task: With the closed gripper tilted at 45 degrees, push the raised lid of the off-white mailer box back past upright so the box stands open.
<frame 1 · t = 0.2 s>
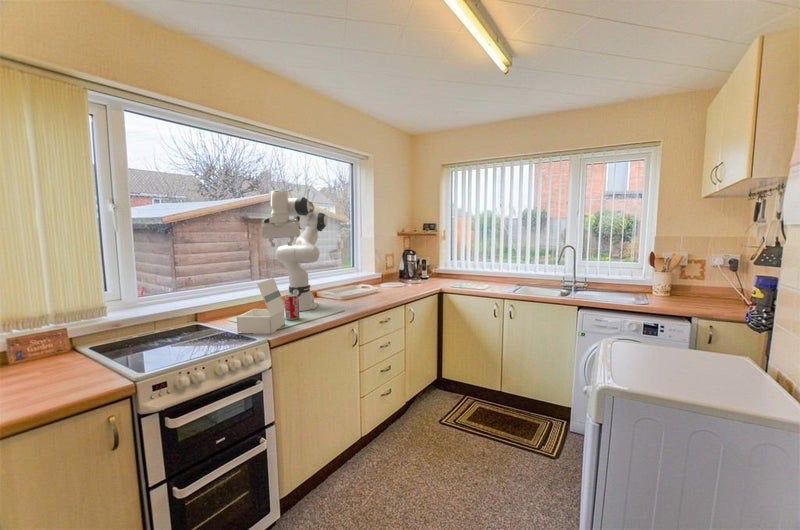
hand: (281, 246, 182), 39 cm above the countertop, tool pointing down, fingers open, 8 cm apart
mailer box: (262, 328, 168), on the countertop
soda can: (292, 319, 187), on the countertop
mailer lid: (272, 296, 166), point 16 cm above the countertop, hinge at 70.0°
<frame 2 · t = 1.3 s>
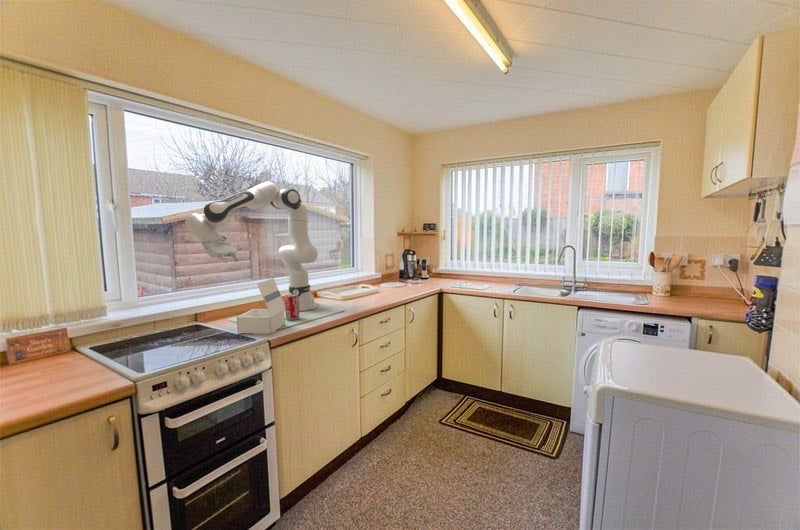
hand: (233, 261, 170), 33 cm above the countertop, tool tilted 45°, fingers open, 8 cm apart
nothing on the countertop moved.
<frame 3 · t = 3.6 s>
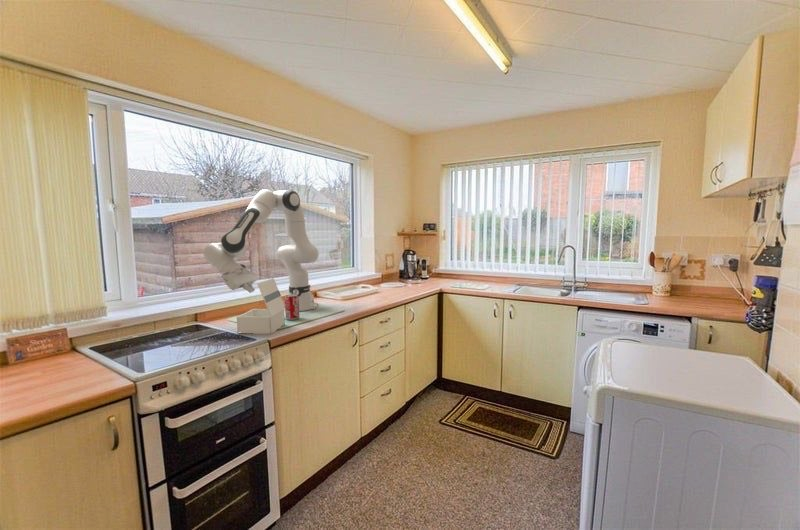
hand: (252, 291, 167), 19 cm above the countertop, tool tilted 45°, fingers closed
nothing on the countertop moved.
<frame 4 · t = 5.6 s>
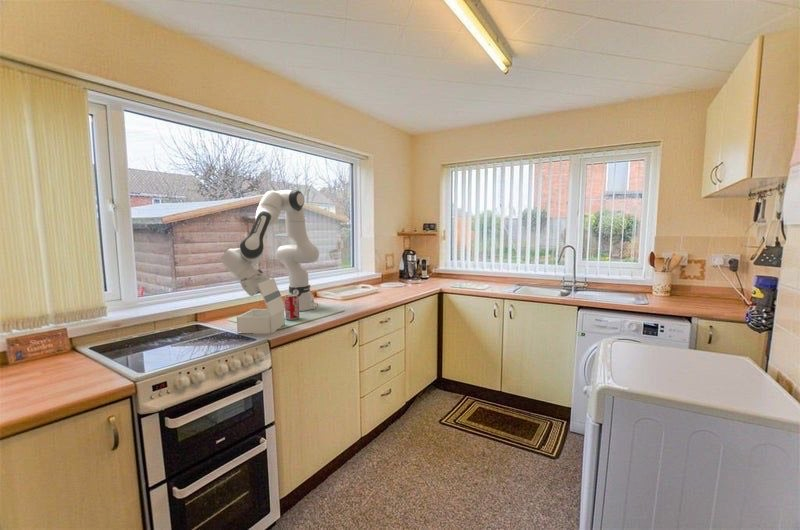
hand: (270, 297, 166), 16 cm above the countertop, tool tilted 45°, fingers closed, pressing on mailer lid
mailer lid: (272, 296, 166), point 16 cm above the countertop, hinge at 70.3°, touching gripper
everything else where it was.
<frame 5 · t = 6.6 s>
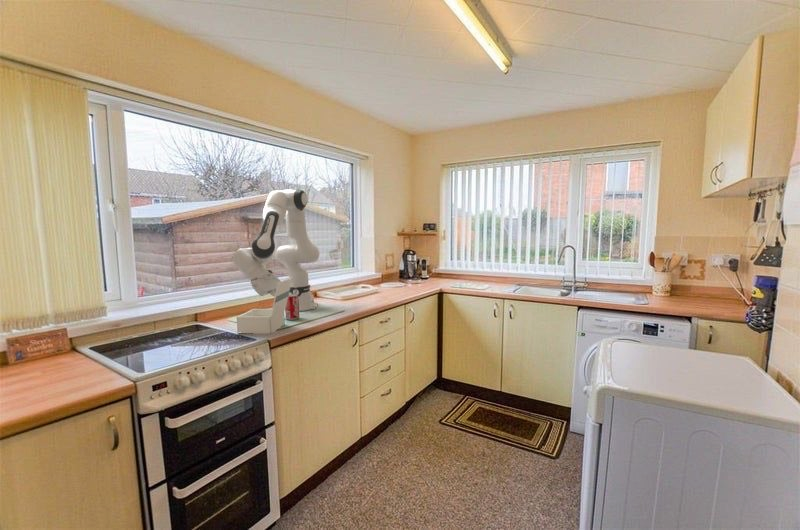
hand: (279, 297, 166), 16 cm above the countertop, tool tilted 45°, fingers closed, pressing on mailer lid
mailer lid: (281, 296, 166), point 16 cm above the countertop, hinge at 104.3°, touching gripper
everything else where it was.
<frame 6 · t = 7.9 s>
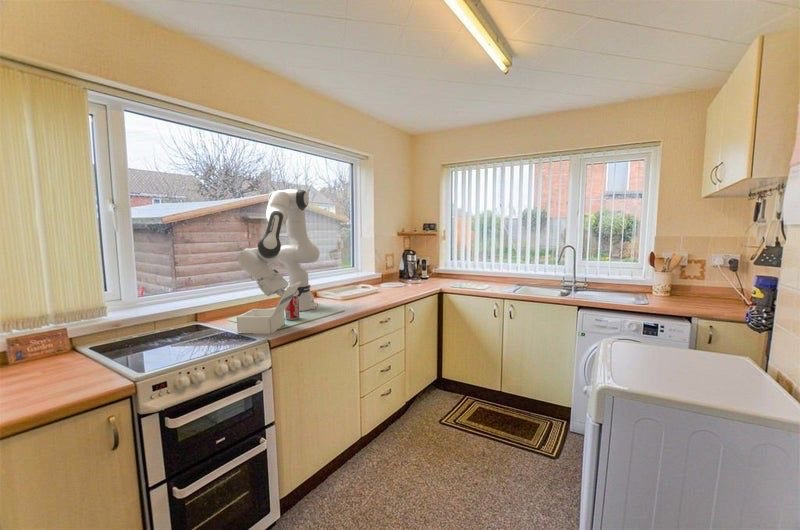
hand: (286, 297, 166), 16 cm above the countertop, tool tilted 45°, fingers closed, pressing on mailer lid
mailer lid: (286, 298, 166), point 15 cm above the countertop, hinge at 122.1°, touching gripper
everything else where it was.
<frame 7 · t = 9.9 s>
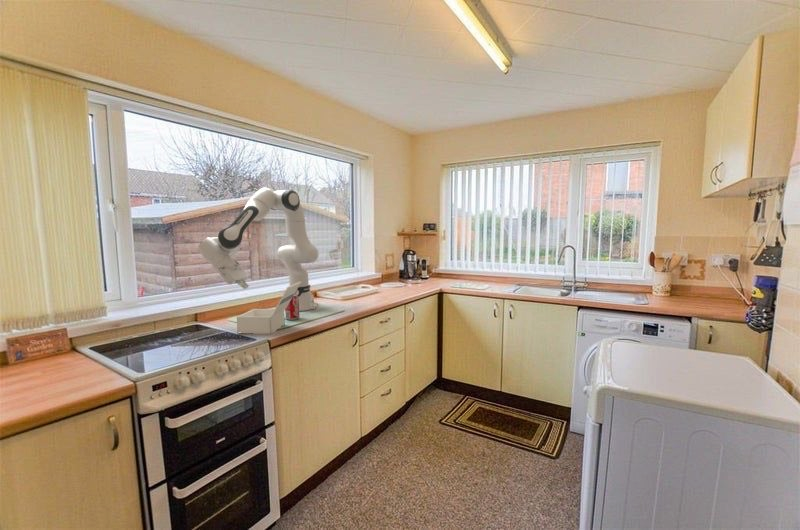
hand: (246, 287, 168), 20 cm above the countertop, tool tilted 40°, fingers closed
mailer lid: (286, 298, 166), point 15 cm above the countertop, hinge at 122.2°
everything else where it was.
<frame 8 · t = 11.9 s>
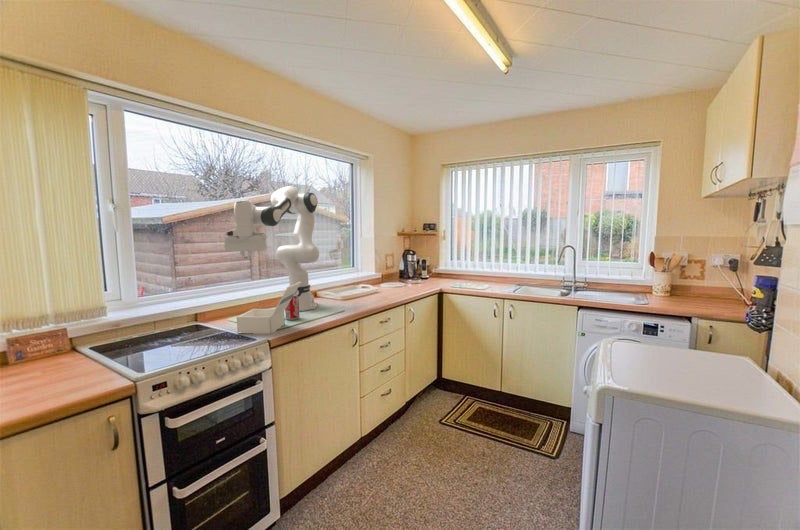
hand: (246, 260, 173), 33 cm above the countertop, tool pointing down, fingers closed
nothing on the countertop moved.
at the end: mailer lid at +122° (first picture: +70°); soda can moved 0.2 cm from its start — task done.
